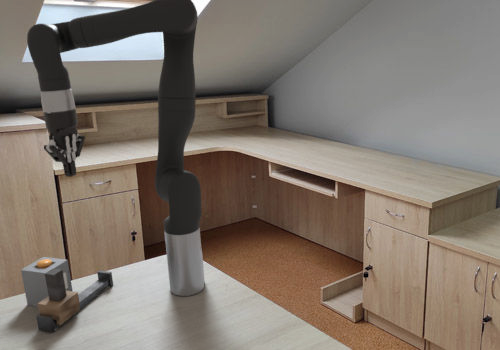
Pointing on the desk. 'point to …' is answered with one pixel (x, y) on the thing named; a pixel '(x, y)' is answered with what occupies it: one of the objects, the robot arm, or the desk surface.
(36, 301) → the button housing
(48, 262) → the button
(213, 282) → the desk surface
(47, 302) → the carriage
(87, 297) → the rail
